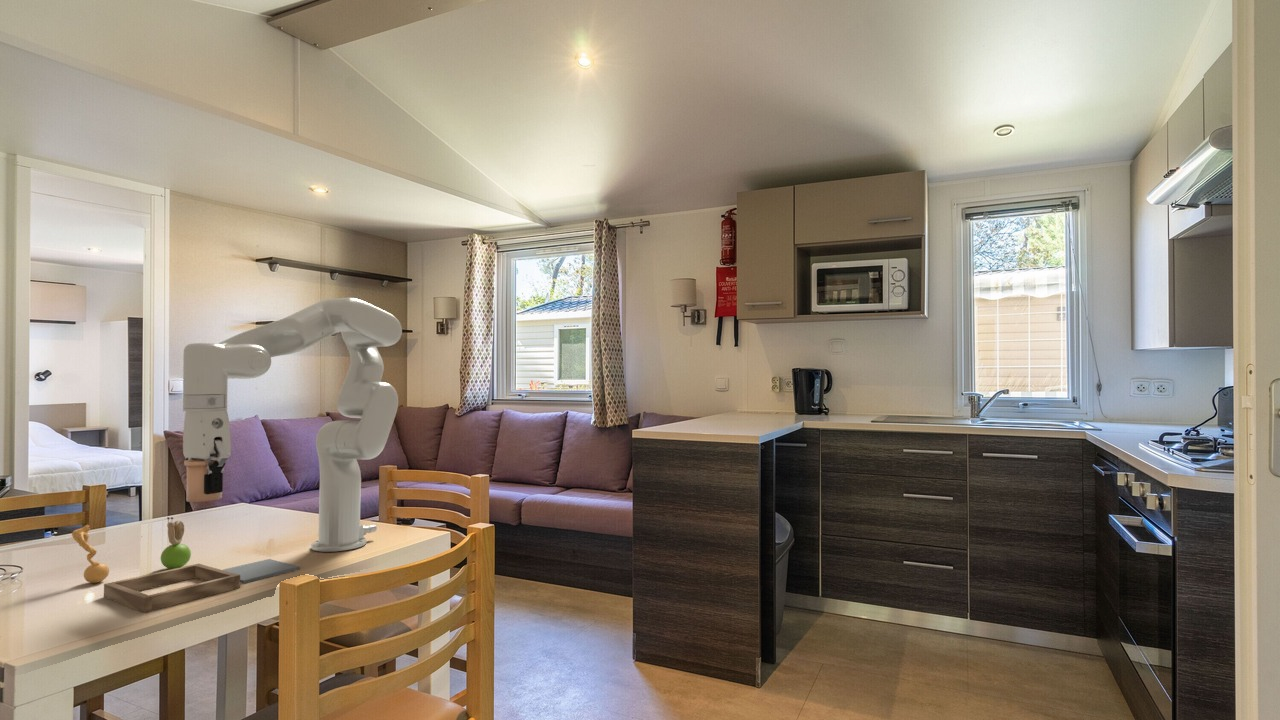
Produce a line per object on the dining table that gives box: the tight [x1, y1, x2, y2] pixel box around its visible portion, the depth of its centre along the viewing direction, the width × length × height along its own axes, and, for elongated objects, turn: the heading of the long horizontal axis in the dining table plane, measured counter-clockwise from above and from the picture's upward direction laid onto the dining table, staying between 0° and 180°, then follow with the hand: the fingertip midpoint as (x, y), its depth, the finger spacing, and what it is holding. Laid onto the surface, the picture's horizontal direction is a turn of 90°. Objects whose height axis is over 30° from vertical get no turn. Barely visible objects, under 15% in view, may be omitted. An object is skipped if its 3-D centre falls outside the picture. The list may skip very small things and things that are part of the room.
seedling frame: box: [103, 563, 241, 613], centre depth 125 cm, size 16×16×2 cm
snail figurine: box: [160, 516, 192, 570], centre depth 141 cm, size 5×6×12 cm
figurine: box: [71, 524, 110, 584], centre depth 130 cm, size 8×6×12 cm
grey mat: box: [222, 558, 301, 584], centre depth 139 cm, size 12×12×1 cm
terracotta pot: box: [183, 457, 223, 503], centre depth 130 cm, size 7×7×8 cm
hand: (204, 490), depth 130 cm, fingers closed on terracotta pot, 6 cm apart
